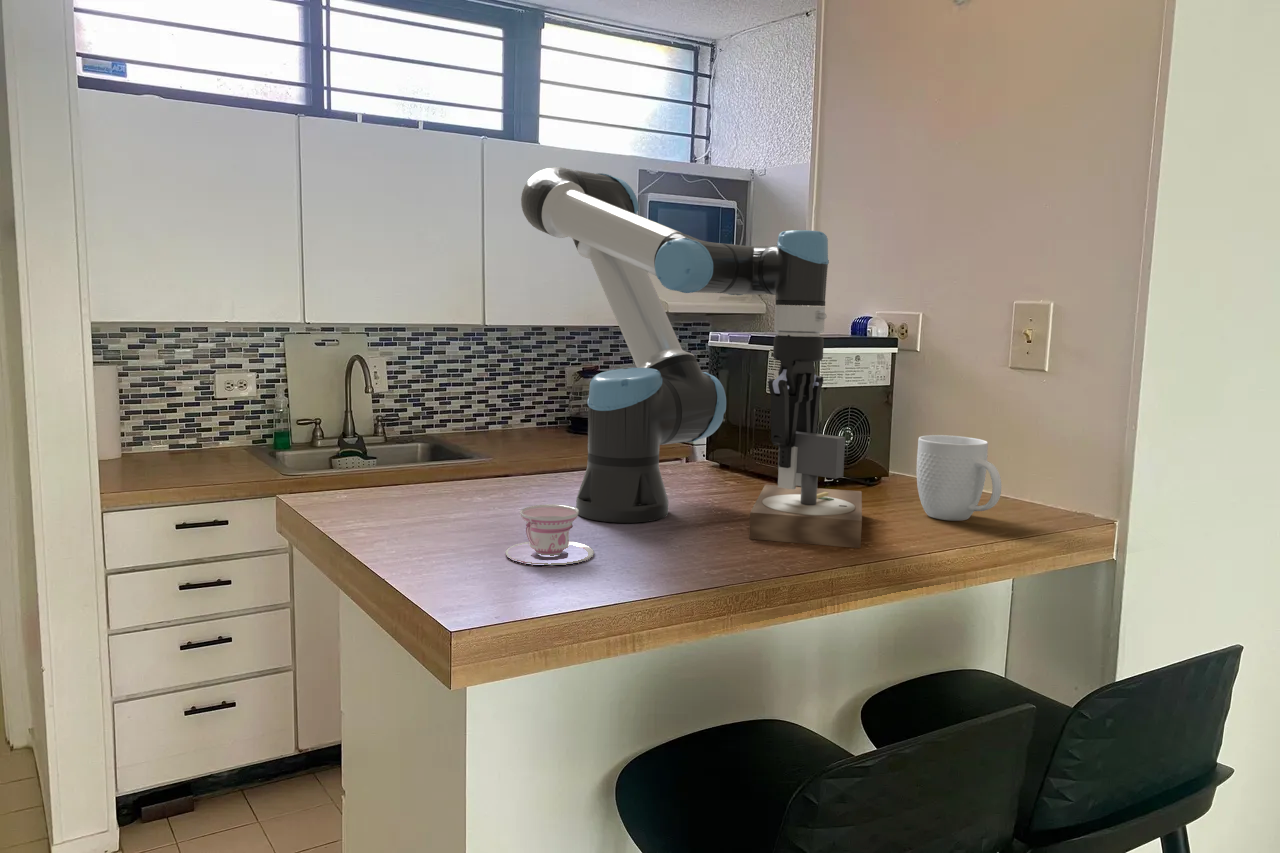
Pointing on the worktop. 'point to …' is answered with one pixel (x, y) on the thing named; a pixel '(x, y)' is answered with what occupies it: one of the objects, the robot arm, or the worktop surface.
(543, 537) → the teacup
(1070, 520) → the worktop surface
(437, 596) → the worktop surface
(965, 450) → the mug
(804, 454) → the peg knob
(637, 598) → the worktop surface
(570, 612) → the worktop surface
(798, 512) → the tuner board
